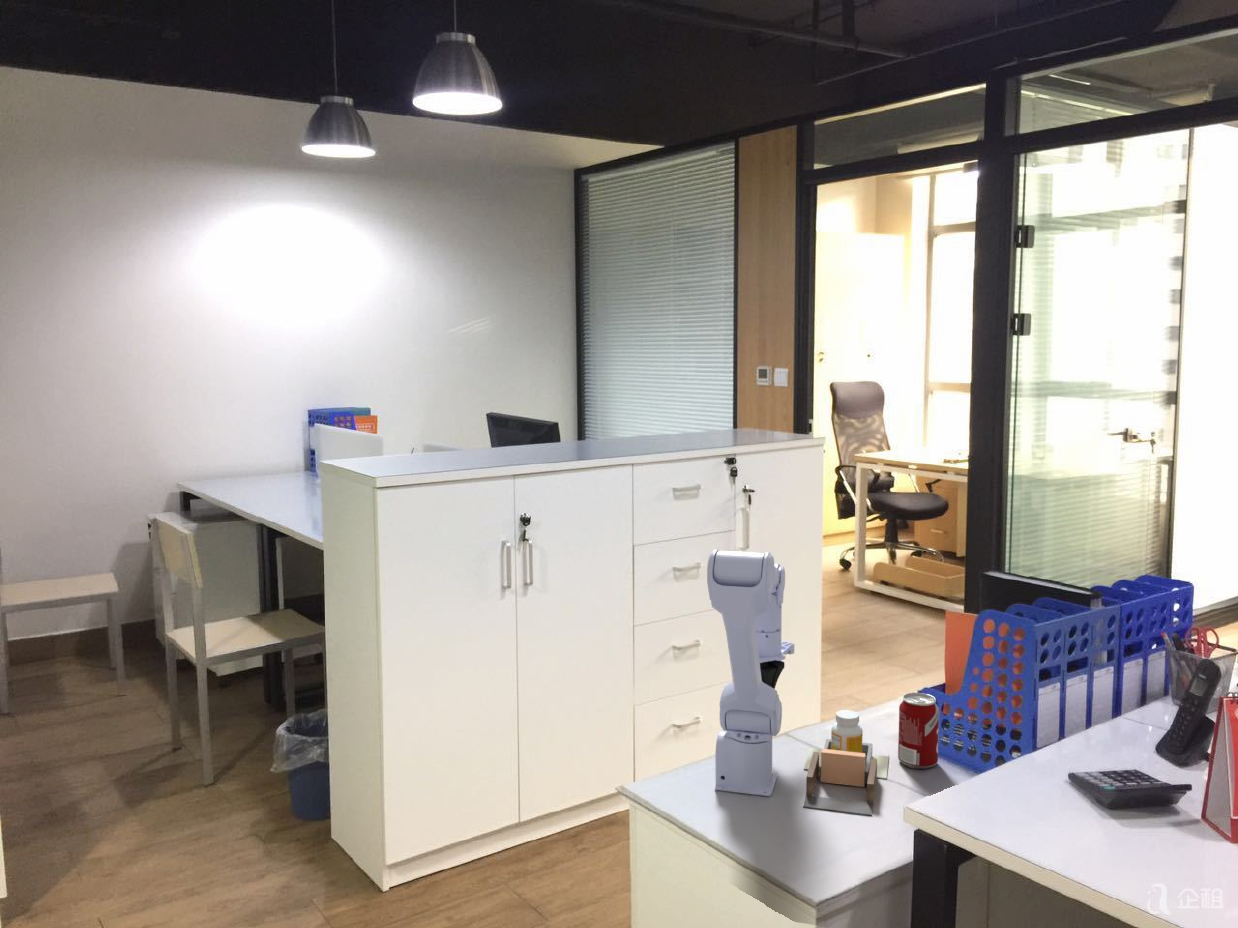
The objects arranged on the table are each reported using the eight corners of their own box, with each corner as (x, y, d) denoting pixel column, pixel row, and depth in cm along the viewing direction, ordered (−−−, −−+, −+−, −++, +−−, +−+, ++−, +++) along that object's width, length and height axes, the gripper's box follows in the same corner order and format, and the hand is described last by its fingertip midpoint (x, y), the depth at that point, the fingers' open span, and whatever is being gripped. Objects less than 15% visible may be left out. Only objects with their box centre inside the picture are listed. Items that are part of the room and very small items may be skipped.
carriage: (817, 781, 173) (818, 751, 173) (826, 749, 186) (826, 721, 185) (867, 787, 171) (867, 757, 170) (872, 754, 184) (872, 726, 183)
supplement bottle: (827, 769, 179) (828, 717, 177) (834, 757, 183) (834, 706, 182) (858, 774, 176) (859, 721, 175) (864, 761, 181) (865, 710, 180)
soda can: (915, 774, 176) (916, 708, 174) (890, 759, 182) (891, 695, 181) (945, 766, 179) (947, 701, 177) (920, 752, 185) (921, 688, 183)
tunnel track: (793, 805, 166) (793, 785, 165) (810, 748, 187) (810, 730, 187) (882, 817, 161) (882, 796, 161) (888, 757, 183) (889, 738, 182)
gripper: (756, 641, 177) (756, 716, 178) (807, 623, 186) (807, 694, 188) (726, 633, 182) (726, 705, 184) (777, 616, 191) (777, 685, 193)
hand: (765, 699), depth 186 cm, fingers closed
